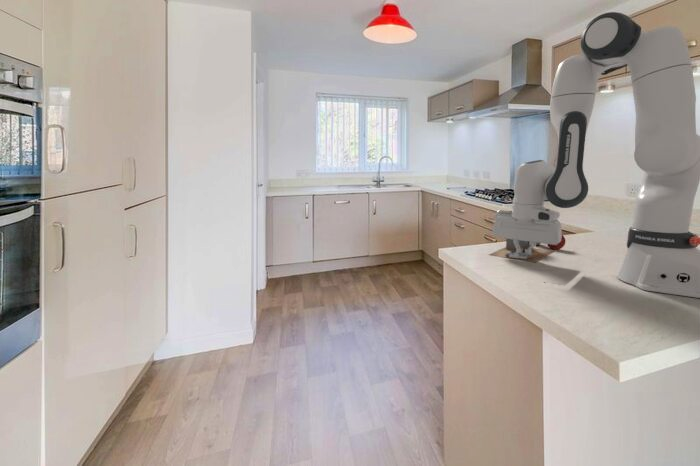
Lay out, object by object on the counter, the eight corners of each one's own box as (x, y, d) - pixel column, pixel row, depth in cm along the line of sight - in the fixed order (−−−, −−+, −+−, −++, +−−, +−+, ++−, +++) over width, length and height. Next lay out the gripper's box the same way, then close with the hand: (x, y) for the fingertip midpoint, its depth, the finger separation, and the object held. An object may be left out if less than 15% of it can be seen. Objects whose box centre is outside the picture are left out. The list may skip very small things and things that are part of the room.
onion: (547, 252, 123) (550, 230, 122) (544, 249, 129) (546, 227, 127) (566, 253, 121) (568, 231, 120) (561, 249, 127) (563, 228, 125)
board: (554, 253, 121) (554, 251, 121) (535, 266, 107) (535, 262, 107) (510, 247, 132) (510, 244, 131) (488, 257, 118) (488, 254, 118)
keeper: (531, 256, 113) (532, 252, 113) (526, 259, 110) (526, 255, 110) (511, 254, 118) (511, 250, 118) (505, 256, 115) (505, 253, 114)
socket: (532, 249, 124) (534, 227, 122) (526, 252, 120) (528, 230, 118) (511, 246, 129) (513, 225, 127) (505, 249, 125) (507, 227, 123)
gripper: (490, 210, 115) (488, 250, 118) (559, 216, 101) (555, 261, 104) (498, 208, 120) (495, 247, 122) (565, 213, 105) (561, 257, 108)
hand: (523, 253), depth 113 cm, fingers closed
